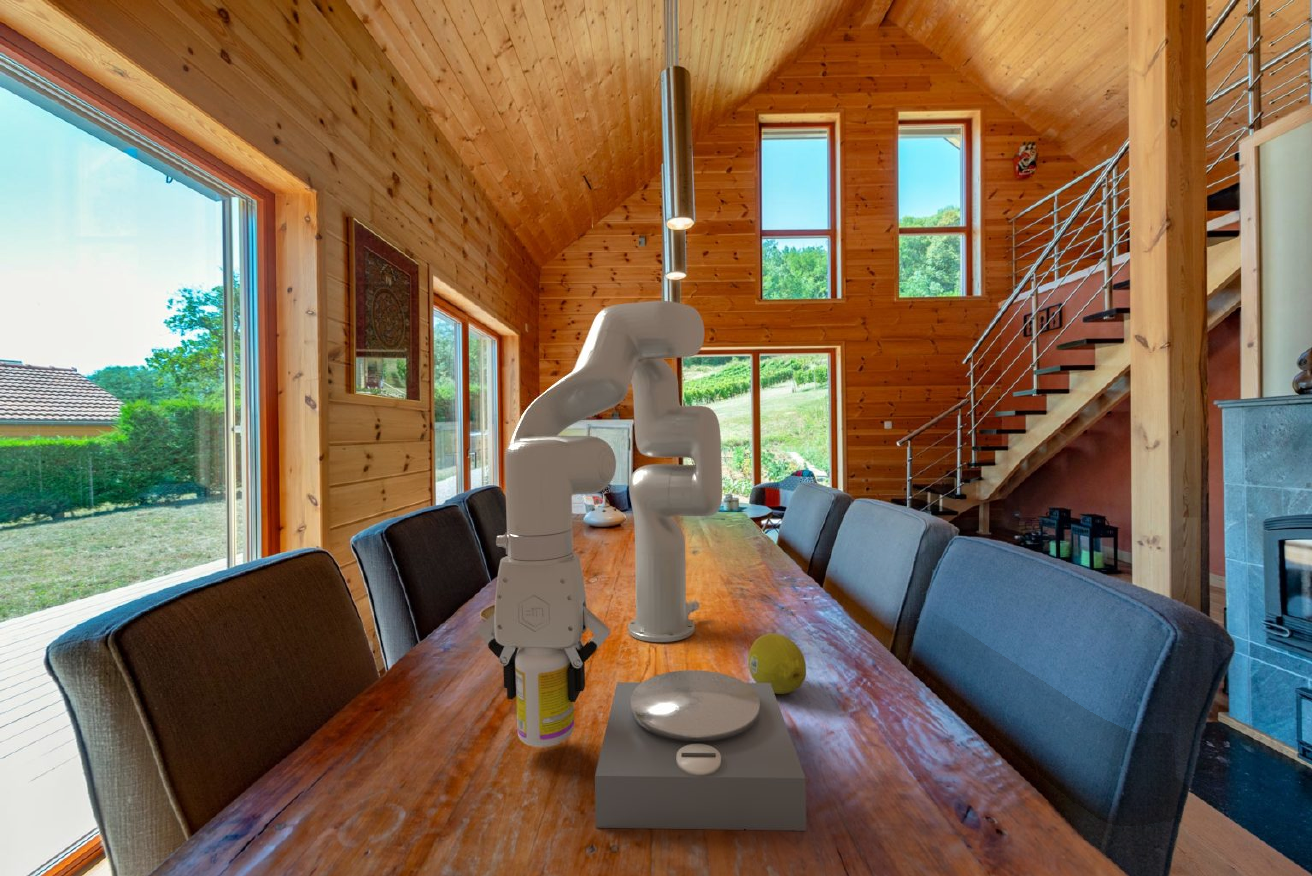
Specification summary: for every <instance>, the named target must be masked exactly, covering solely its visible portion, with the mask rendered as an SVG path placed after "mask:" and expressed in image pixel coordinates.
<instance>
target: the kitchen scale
mask: <svg viewBox="0 0 1312 876" xmlns="http://www.w3.org/2000/svg"><path fill="white" fill-rule="evenodd" d="M642 682H643V681H642ZM642 682H640V681H639V682H633V681H625V682H624V681H619V682H618V681H617V682H616V686H615V690H614V694H613V699H612V703H611V705H610V706H611V707H610V712H609V716H608V720H607V724H606V727H605V732H604V736H603V740H602V744H601V749H600V752H599V757H598V761H597V765H596V769H595V773H594V774H595V775H594V799H595V800H594V805H595V809H594V810H595V811H594V812H595V813H594V814H595V815H594V816H595V819H594V820H595V828H597V829H603V828H604V829H651V830H652V829H654V830H655V829H656V830H657V829H660V830H661V829H662V830H663V829H665V830H667V829H668V830H670V829H671V830H673V829H674V830H721V831H722V830H725V831H727V830H729V831H730V830H736V831H743V830H744V829H746V830H744V831H792V832H793V830H794V831H806V832H807V784H806V783H807V778H806V775H805V773H804V769H803V767H802V764H801V761H800V759H799V756H798V754H797V751H796V748H795V746H794V743H793V740H792V737H791V735H790V731H789V730H788V727H787V724H786V721H785V718H784V715H783V713H782V710H781V707H780V705H779V702H778V700H777V698H776V697H777V696H776V695H775V693H774V691H773V688H772V686H771V683H756V682H746V683H747V684H748V685H749V686H751V687H752V688H753V689H754V690H755V691H756V693H757V694H758V697H759V700H760V714H759V717H758V719H757V721H756V722H755V723H754V724H753V725H752V726H751V727H750V728H749V729H747V730H746V731H744V732H742V733H740V734H737V735H735V736H732V737H728V738H724V739H719V740H712V741H684V740H677V739H672V738H667V737H664V736H661V735H658V734H655V733H653V732H651V731H649V730H647V729H646V728H644V727H642V726H641V725H640V724H639V723H638V722H637V721H636V720H635V719H634V717H633V715H632V712H631V695H632V693H633V691H634V689H635V688H636V687H637V686H638V685H639V684H641V683H642Z"/></svg>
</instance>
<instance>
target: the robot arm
mask: <svg viewBox="0 0 1312 876" xmlns="http://www.w3.org/2000/svg"><path fill="white" fill-rule="evenodd" d="M704 340H705V325H704V322H703V319H702V317H701V315H700V313H699V312H698V310H697V309H696V308H695V307H693V306H691V305H687V304H683V303H680V302H676V301H669V300H652V301H641V302H630V303H622V304H621V303H620V304H615V305H610V306H608V307H605V308H603V309H601V310H600V311H599V312H598V313H597V315H596V316H595V317H594V320H593V322H592V324H591V327H590V329H589V331H588V333H587V336H586V339H585V341H584V342H583V346H582V348H581V351H580V353H579V356H578V358H577V360H576V363H575V365H574V367H573V369H572V371H571V372H570V373H568V374H567V375H565V376H564V377H562V378H561V379H559V380H558V381H557V382H555V383H554V384H553V385H551V386H550V387H549V388H548V389H547V390H545V392H543V393H542V394H540V395H539V396H538V397H536V399H534V400H533V401H532V402H531V403H530V404H529V406H528V407H527V408H526V409H525V410H524V412H523V414H522V415H521V417H520V418H519V422H518V423H517V425H516V427H515V430H514V432H513V435H512V436H511V438H510V441H509V443H508V446H507V447H506V449H505V452H504V475H505V476H504V479H505V481H504V483H505V510H506V514H505V515H506V531H505V533H504V534H503V535H501V534H500V535H499V534H498V535H497V536H496V538H495V539H496V540H495V545H496V547H498V548H499V547H502V548H504V549H505V554H506V555H507V556H504V557H502V558H501V559H500V560H499V561H500V562H499V566H498V571H497V579H496V580H497V581H496V588H495V598H494V599H495V600H494V601H495V602H494V604H495V613H494V614H493V615H492V616H491V617H490V618H489V619H487V620H486V621H485V622H484V621H483V623H482V624H481V625H479V626H478V628H477V629H476V633H477V635H478V636H479V637H480V638H481V640H482V641H483V642H484V643H485V644H486V645H487V648H488V649H489V651H491V652H492V654H494V655H495V656H496V657H497V658H498V663H499V664H500V665H501V666H502V669H503V670H502V671H503V687H504V689H506V696H507V700H513V699H516V674H515V657H516V654H517V653H518V651H519V650H520V649H521V648H545V649H565V651H566V653H567V655H568V657H569V659H570V661H571V665H570V667H569V668H568V700H569V701H570V702H574V703H576V701H577V699H578V697H579V695H580V694H581V692H583V691H584V690H585V687H586V672H585V671H586V666H585V665H586V664H585V662H587V660H588V659H589V658H590V657H592V655H593V654H595V653H596V651H597V649H599V648H600V646H601V645H602V644H603V643H604V642H605V641H606V640H607V639H608V637H609V635H610V633H611V628H610V627H608V626H607V625H606V624H605V623H604V622H603V621H602V620H601V619H599V618H598V617H597V616H596V614H594V613H593V612H592V611H591V610H590V609H588V604H587V596H586V595H587V594H586V587H585V580H584V574H583V568H582V565H581V560H580V557H579V554H578V553H574V536H573V535H574V533H573V531H574V530H573V500H572V498H573V497H572V496H574V495H593V494H597V493H599V492H601V491H604V489H606V488H607V487H608V486H609V485H610V484H611V482H612V481H613V478H614V476H615V472H616V469H617V459H616V456H615V455H616V454H615V453H614V450H613V448H612V447H611V445H610V444H609V442H607V441H605V440H604V439H602V438H600V437H596V436H593V435H559V434H561V433H562V432H563V431H565V430H566V429H567V428H570V426H572V425H574V424H576V423H578V422H581V421H582V420H586V419H588V418H590V417H592V416H593V417H594V416H596V415H598V414H600V413H602V412H605V411H607V410H609V409H611V408H614V407H616V406H617V405H618V404H620V403H622V401H624V400H625V398H626V396H627V394H628V393H629V392H628V391H629V389H630V386H632V387H631V388H632V395H633V396H632V398H633V418H634V419H633V421H634V423H633V424H634V435H635V436H634V437H635V443H636V445H635V446H636V449H637V450H638V452H639V453H640V454H641V455H643V456H646V457H651V458H683V459H684V458H687V459H692V461H693V463H694V464H677V463H676V464H675V463H673V464H670V463H669V464H667V463H664V464H663V463H655V464H645V465H643V466H640V467H638V468H637V469H636V470H634V472H632V474H631V476H630V478H629V483H628V491H629V498H630V503H631V510H632V515H633V525H634V527H633V528H634V555H635V558H634V560H635V565H634V566H635V618H634V619H632V620H630V622H629V623H628V624H627V632H628V634H629V635H630V636H631V637H633V638H634V639H636V640H640V641H645V642H650V643H670V642H677V641H681V640H685V639H687V638H689V637H690V636H692V635H693V634H694V633H695V622H693V621H692V620H691V619H690V618H689V616H690V615H691V613H693V612H696V611H698V610H699V609H700V603H699V602H698V601H697V600H692V601H690V602H687V590H686V589H687V584H686V583H687V582H686V580H687V578H686V577H687V576H686V572H687V571H686V569H687V568H686V539H685V535H684V532H683V529H682V527H680V525H679V524H678V522H677V521H676V520H675V518H674V517H676V516H681V517H711V516H714V515H716V514H717V513H718V512H719V510H720V509H721V505H722V501H723V470H722V468H723V467H722V466H723V465H722V442H721V441H722V440H721V439H722V438H721V437H722V435H721V427H720V422H719V419H718V417H717V414H716V413H715V411H714V410H713V409H711V408H710V407H707V406H703V405H681V404H680V397H679V396H680V395H679V393H680V392H679V380H678V377H677V375H676V373H675V371H674V370H673V368H672V367H671V366H670V364H669V363H668V362H667V361H666V360H665V359H675V358H689V357H695V356H696V355H697V354H698V353H699V352H700V351H701V349H702V347H703V344H704ZM587 629H588V630H589V631H591V633H592V634H593V636H592V637H591V638H590V639H589V640H588V641H587V642H586V643H584V641H583V639H582V636H583V634H584V633H585V632H587Z"/></svg>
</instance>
